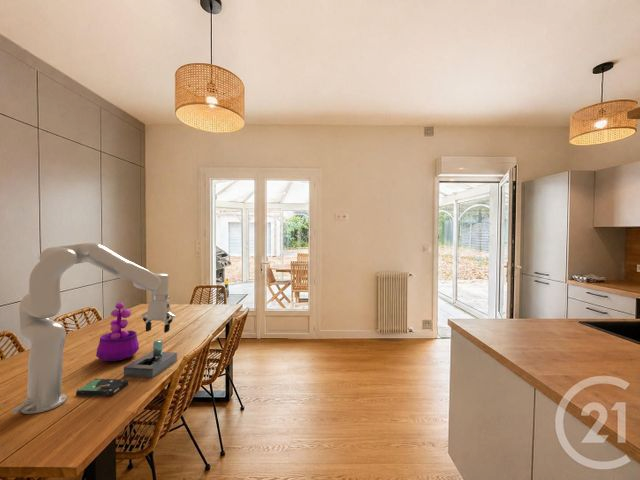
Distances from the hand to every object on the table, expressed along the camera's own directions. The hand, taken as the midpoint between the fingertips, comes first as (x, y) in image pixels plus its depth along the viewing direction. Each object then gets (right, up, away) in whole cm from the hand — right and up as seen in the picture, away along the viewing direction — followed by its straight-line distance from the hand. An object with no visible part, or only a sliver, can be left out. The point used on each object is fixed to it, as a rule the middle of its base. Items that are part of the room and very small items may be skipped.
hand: (157, 331), depth 147 cm
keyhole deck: (0, -17, -4) cm, 17 cm away
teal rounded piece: (0, -17, 0) cm, 17 cm away
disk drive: (-8, -17, -26) cm, 32 cm away
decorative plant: (-25, -17, +6) cm, 31 cm away
